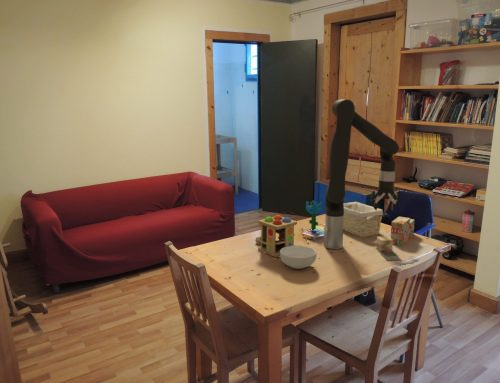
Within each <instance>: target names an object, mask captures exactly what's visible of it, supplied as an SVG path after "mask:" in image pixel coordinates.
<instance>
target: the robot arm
mask: <svg viewBox="0 0 500 383" xmlns="http://www.w3.org/2000/svg"><path fill="white" fill-rule="evenodd" d="M355 107H356V106H355V103H354V102H353V101H352V100H351V99H348V98H341V99H337V100H335V102H334V103H333V104H332V108H331V109H332V113H333V115H334V116H335V117H336V127H335V132H334V135H333V137H332V140H331V144H330V150H329V151H330V153H329V169H330V170H329V171H330V178H329V184H328V185H327V187H326V189H325V221H324V222H325V224H324V227H323V245H324V248H325V249H331V250H340V249H342V248H343V246H344V245H343V240H344V230H343V222H344V203H345V202H344V200H345V197H346V173H347V169H348V164H349V157H350V146H351V134H352V127H353V128H354V129H356V130H357V131H358V132H359V133H360V134H361V135H363V136H364V137H365V138H366V139H368V141H370V142H371V143H372V144H374V145H376V146H377V147H379V156H380V161H381V162H380V168H379V169H380V170H379V176H378V188H377V190H375V189H372V190H371V193H370V194H371V195H370V202H372V203H373V207H374V209H375V210H377V208H378V202H380V200H390V201H391V202H392V203H391V211H392V212H393V211H395V209H396V205H397V204H399V203H400V202H401V200H400V199H401V192H400V191H399V190H395V177H396V173H395V171H396V160H394V155H396V154H397V153H398V152H399V151H400V145H399V144H398V142H397V141H395V139H393V138H391V137H390V136H389V135H387V134H386V133H384V132H383V131H382V130H381V129H380V128H378V127H377V126H376V125H374V124H373V123H372V122H370V121H369V120H367V119H366V118H364V117H362V116H361V115H360V114H358V113H357V112H356V110H355V109H356V108H355ZM375 195H377V196H376V198H375ZM394 195H395V199H394V197H393V196H394Z"/></svg>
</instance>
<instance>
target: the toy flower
mask: <svg viewBox="0 0 500 383" xmlns="http://www.w3.org/2000/svg"><path fill="white" fill-rule="evenodd" d="M305 210H306V211H307V212H308V214H311V219H310V220H308V223H309V224H311V225H310V226H311V227H310V228H311V229H312V230H314V229H317V227H316V226H319V222H318V221H317V215H318V214H319V213H320V212H321V211H322V210H323V203H322V202H319V203H318V202H317V201H315V200H314V199H313V200H312V201H310V202H309V201H306V202H305ZM311 229H310V230H311Z"/></svg>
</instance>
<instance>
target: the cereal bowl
mask: <svg viewBox="0 0 500 383" xmlns="http://www.w3.org/2000/svg"><path fill="white" fill-rule="evenodd" d="M279 258H280V260H281V261H282V263H283V264H285V265H286V266H289V267H290V268H292V269H298V270H299V269H300V270H302V269H304V268H307V267H309V266H311V265H313V264H314V263H315V261H316V259H317V250H315V249H314V248H313V247H309V246H306V245H305V246H304V245H294V246H288V247H284V248H282V249H281V250H280V257H279Z"/></svg>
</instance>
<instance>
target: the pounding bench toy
mask: <svg viewBox="0 0 500 383" xmlns="http://www.w3.org/2000/svg"><path fill="white" fill-rule="evenodd" d="M258 224H259V225H261V227H260V228H261V229H260V230H261V231H260V236H258V237H255V240H254V241H255V243H256V245H259V246H258V247H257V251H259V252H261V253H264V254H267V255H270V256H271V257H274V258H280V250H281V249H282V248H284V247H288V246H295V235H296V234H295V226H297V225H298V221H297V220H293V219H291V218H290V217H288V216H286V217H284V216H282V215H280V214H276V215H274V216H272V217H271V216H266V217H265V218H262V219H258ZM277 234H278V237H276V236H277ZM276 238H277V239H276Z"/></svg>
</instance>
